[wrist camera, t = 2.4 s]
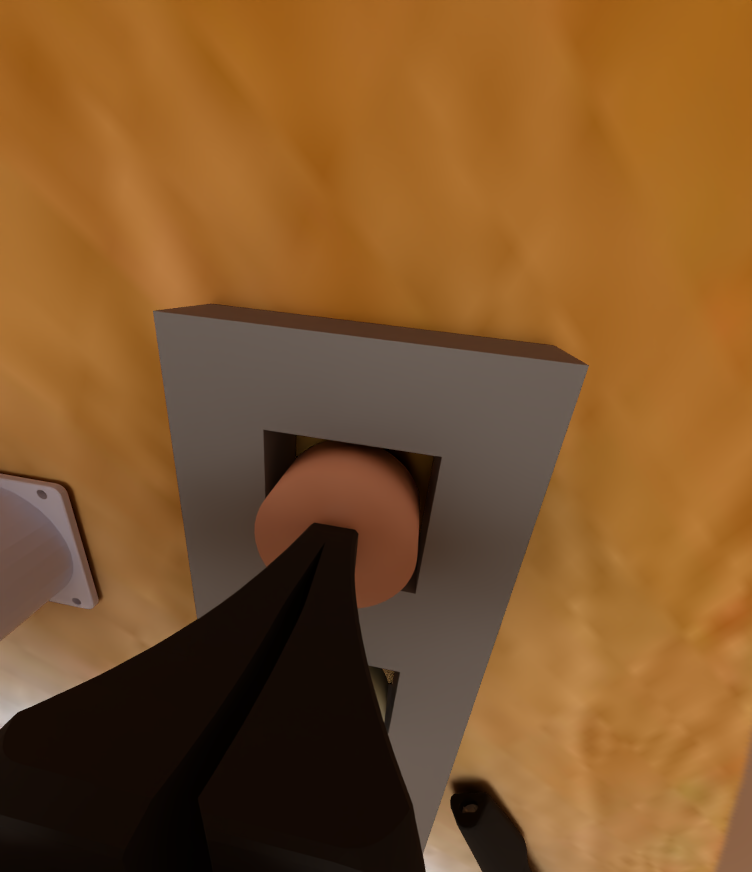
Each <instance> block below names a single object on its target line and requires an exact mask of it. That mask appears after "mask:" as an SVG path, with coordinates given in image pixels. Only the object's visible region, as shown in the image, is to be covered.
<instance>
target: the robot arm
mask: <svg viewBox="0 0 752 872" xmlns="http://www.w3.org/2000/svg"><path fill="white" fill-rule="evenodd" d="M358 535H359V534H358V532H357V531H356V530H354V529H349V528H343V527H337V526H332V525H326V524H320V523H315V522H314V523H313V524H311V525H310V526H309V527H308V528H307V529H306V530H305V531H304V532H303V533H302V534H301V535H300V536H299V537H298V538H297V539H296V540H295V541H294V542H293V543H292V544H291V545H290V546H289V547H288V548H287V549H286V550H285V551H284V552H283V553H282V554H280V555H279V556H278V557H277V558H276V559H275V560H274V561H273V562H271V563H270V564H269V565H268V566H267V567H266V568H265V569H264V570H262V571H261V572H260V573H259V574H258V575H256V576H255V577H254V578H253V579H251V580H250V581H249V582H248V583H246V584H245V585H244V586H243V587H242V588H240V589H239V590H238V591H236V592H235V593H234V594H233V595H231V596H230V597H229V598H227V599H226V600H224V601H223V602H222V603H220V604H219V605H218V606H216V607H215V608H213V609H212V610H210V611H209V612H207V613H206V614H205V615H203V616H202V617H200V618H199V619H197V620H195V621H194V622H192V623H191V624H189V625H188V626H186V627H184V628H183V629H181V630H180V631H178V632H176V633H175V634H173V635H172V636H170V637H168V638H167V639H165V640H163V641H162V642H160V643H158V644H157V645H155V646H153V647H151V648H149V649H148V650H146V651H144V652H142V653H140V654H138V655H136V656H135V657H133V658H131V659H129V660H127V661H125V662H124V663H122V664H120V665H118V666H116V667H114V668H112V669H110V670H108V671H107V672H105V673H103V674H101V675H99V676H97V677H95V678H92V679H90V680H88V681H86V682H84V683H82V684H80V685H78V686H75V687H73V688H71V689H69V690H67V691H65V692H62V693H60V694H58V695H56V696H54V697H51V698H49V699H47V700H45V701H43V702H41V703H38V704H36V705H34V706H32V707H29V708H27V709H25V710H22V711H20V712H18V713H17V714H16V715H15V716H13V717H12V718H11V719H10V720H9V721H8V722H7V723H6V724H5V725H4V726H3V727H2V728H1V729H0V872H426V871H425V864H424V859H423V854H422V848H421V843H420V838H419V833H418V829H417V824H416V819H415V813H414V807H413V804H412V801H411V798H410V795H409V793H408V790H407V787H406V785H405V782H404V779H403V777H402V774H401V771H400V768H399V765H398V763H397V760H396V757H395V754H394V751H393V748H392V745H391V742H390V739H389V736H388V733H387V730H386V727H385V724H384V721H383V717H382V714H381V710H380V707H379V703H378V700H377V696H376V693H375V689H374V686H373V682H372V679H371V675H370V670H369V666H368V662H367V658H366V653H365V648H364V644H363V639H362V633H361V628H360V622H359V615H358V608H357V600H356V590H355V566H356V556H357V546H358ZM48 601H51V602H56V603H61V604H66V605H70V606H75V607H80V608H85V609H92V608H94V607H95V606H96V605H97V604H98V602H99V600H98V596H97V592H96V589H95V585H94V582H93V578H92V575H91V572H90V568H89V565H88V561H87V558H86V554H85V551H84V548H83V544H82V541H81V537H80V534H79V530H78V527H77V523H76V520H75V517H74V513H73V510H72V506H71V503H70V499H69V496H68V493H67V491H66V489H65V488H64V487H63V486H61V485H59V484H56V483H51V482H45V481H40V480H34V479H28V478H23V477H17V476H11V475H6V474H0V641H1V640H2V639H4V638H5V637H6V636H7V635H8V634H10V633H11V632H12V631H13V630H14V629H15V628H17V627H18V626H19V625H20V624H21V623H23V622H24V621H25V620H26V619H27V618H29V617H30V616H31V615H32V614H33V613H35V612H36V611H37V610H38V609H39V608H40V607H42V606H43V605H44V604H45V603H46V602H48Z"/></svg>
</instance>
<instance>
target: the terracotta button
mask: <svg viewBox="0 0 752 872" xmlns="http://www.w3.org/2000/svg"><path fill="white" fill-rule="evenodd" d="M419 520H420V497H419V492H418V489H417V486H416V484H415V481H414V480H413V478H412V476H411V474H410V473H409V472H408V470H407V469H406V467H405V466H404V465H403V464H402V463H401V462H400V461H399V460H398V459H396V458H395V457H394V456H393V455H391V454H390V453H388V452H387V451H385V450H384V449H381V448H379V447H374V446H367V445H361V444H354V443H347V442H341V441H334V440H329V441H325V442H322V443H318V444H316V445H314V446H312V447H310V448H308V449H307V450H305V451H304V452H303V453H301V454H300V455H299V456H298V457H297V458H296V459H295V461H294V462H293V463H292V464H291V466H290V467H289V468H288V470H287V471H286V472H285V474H284V475H283V476H282V477H281V479H280V480H279V481H278V483H277V484H276V485H275V487H274V488H273V489H272V491H271V492H270V493H269V495H268V496H267V497H266V498H265V500H264V501H263V503H262V505H261V506H260V508H259V511H258V513H257V516H256V521H255V531H254V533H255V542H256V545H257V549H258V552H259V554H260V556H261V558H262V560H263V562H264V564H265V565H266V567H267V566H268V565H269V564H270V563H271V562H273V561H274V560H275V559H276V558H277V557H278V556H279V555H280V554H282V553H283V552H284V551H285V550H286V549H287V548H288V547H289V546H290V545H291V544H292V543H293V542H294V541H295V540H296V539H297V538H298V537H299V536H300V535H301V534H302V533H303V532H304V531H305V530H306V529H307V528H308V527H309V526H310V525H311V524H313V523H314V522H315V523H320V524H326V525H332V526H337V527H343V528H349V529H354V530H356V531H357V532H358V534H359V535H358V546H357V556H356V566H355V590H356V600H357V608H364V607H370V606H373V605H377V604H379V603H382V602H384V601H386V600H388V599H390V598H392V597H393V596H395V595H396V594H397V593H398V592H400V591H401V590H402V589H403V588H404V587H405V586H406V584H407V583H408V581H409V580H410V578H411V576H412V574H413V572H414V570H415V566H416V562H417V553H418V536H419Z"/></svg>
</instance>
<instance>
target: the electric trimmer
mask: <svg viewBox="0 0 752 872" xmlns="http://www.w3.org/2000/svg"><path fill="white" fill-rule="evenodd" d="M450 804H451V809H452V812H453V814H454V817H455V820H456V823H457V825H458V827H459V829H460V831H461V833H462V835H463V836H464V838H465V840H466V842H467V844H468V846H469V848H470V849H471V851H472V853H473V855H474V857H475V859H476V860H477V862H478V864H479V866H480V868H481V870H482V872H532V871H531V869H530V868H529V865H528V860H527V848H526V843H525V841H524V838H523V837H522V835H521V834H520V832H519V831H518V830H517V828H516V827H515V826H514V825H513V823H512V822H511V821H510V820H509V818H508V817H507V816H506V815H505V814H504V812H503V811H502V810H501V809H500V808H499V806H498V805H497V804H496V803H495V801H494V800H493V799H492V798H491V797H490V795H488V794H487V793H485V792H480V793H462V794H454V795H453V796H451V800H450Z"/></svg>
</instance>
